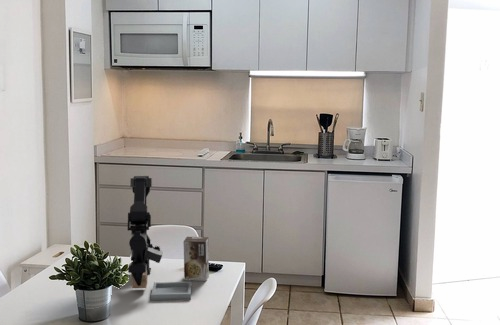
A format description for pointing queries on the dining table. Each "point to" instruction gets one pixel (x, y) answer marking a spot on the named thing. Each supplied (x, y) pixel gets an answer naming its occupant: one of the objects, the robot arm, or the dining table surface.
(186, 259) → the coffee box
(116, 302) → the dining table surface
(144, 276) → the walnut block
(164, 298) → the grey tray
